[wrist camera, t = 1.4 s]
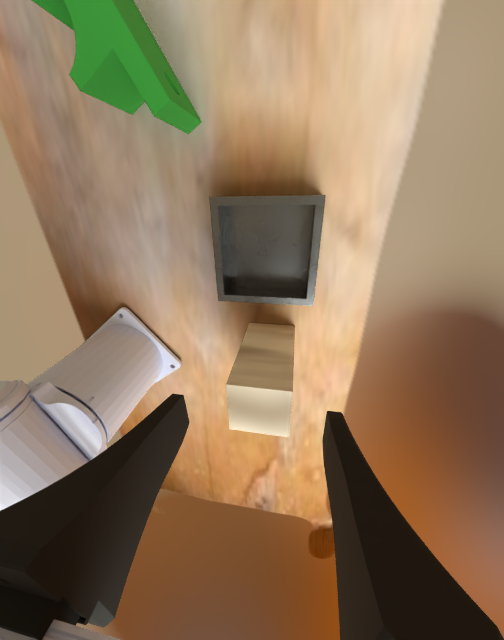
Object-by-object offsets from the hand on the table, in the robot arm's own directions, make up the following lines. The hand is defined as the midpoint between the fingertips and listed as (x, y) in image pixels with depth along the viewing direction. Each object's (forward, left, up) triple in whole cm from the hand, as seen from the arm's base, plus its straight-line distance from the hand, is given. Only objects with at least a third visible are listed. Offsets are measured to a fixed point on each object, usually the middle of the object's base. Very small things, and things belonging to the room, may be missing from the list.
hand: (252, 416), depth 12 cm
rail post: (-2, -2, -10) cm, 11 cm away
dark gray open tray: (+3, +5, -10) cm, 12 cm away
